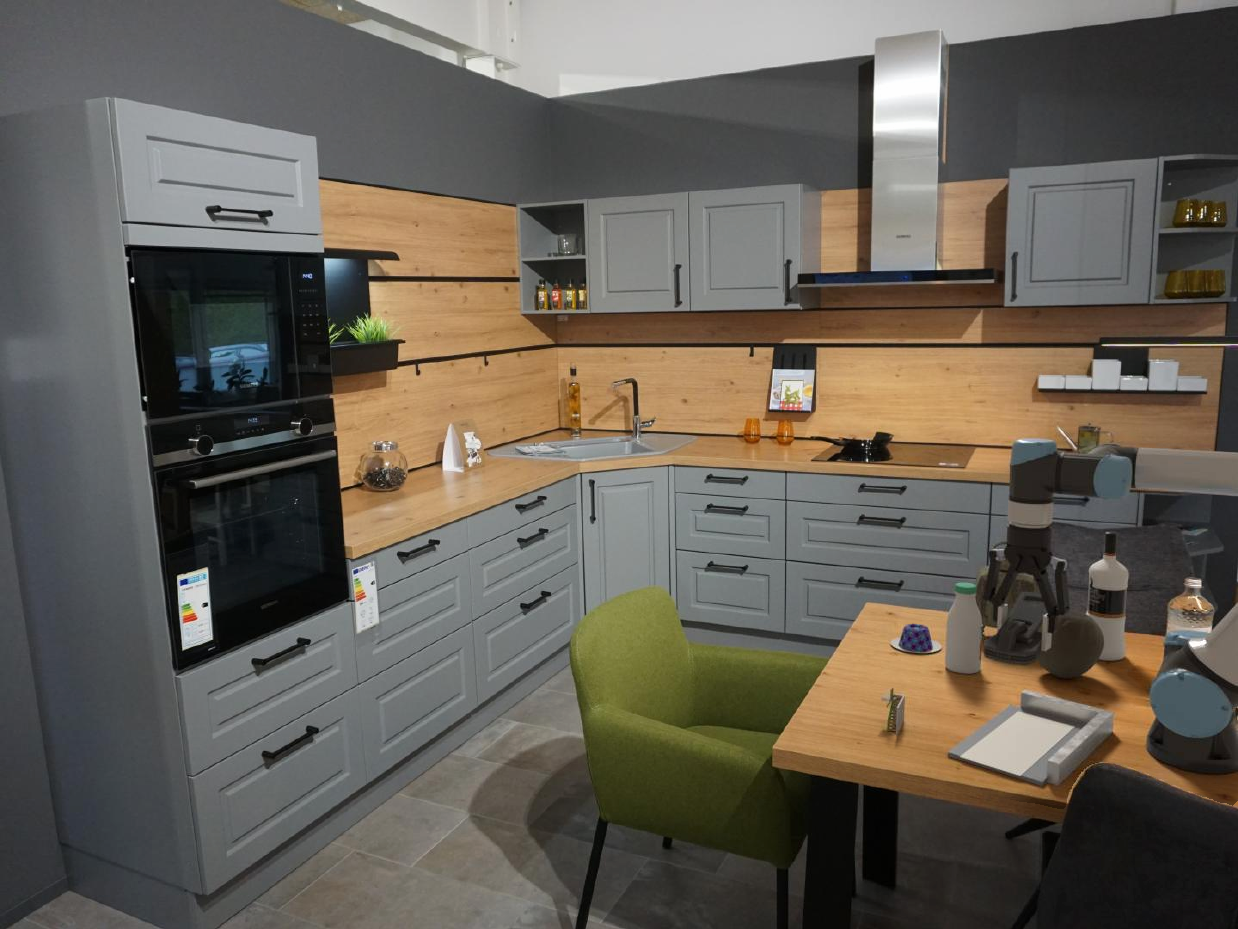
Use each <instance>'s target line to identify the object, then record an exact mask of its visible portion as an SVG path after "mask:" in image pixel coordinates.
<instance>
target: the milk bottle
mask: <svg viewBox="0 0 1238 929" xmlns="http://www.w3.org/2000/svg"><path fill="white" fill-rule="evenodd" d="M954 590H955V591H954V594H955V599H954V601H953V604H952V605H951V606H950V609H949V612H948V613H947V619H946V631H945V632H946V633H945V634H946V635H945V659H944V660H945V662H944V664H945V667H946V669H948V671H951V672H954V673H957V674H965V675H966V674H976V673H979V671H980V670H981V669H982V668H981V664H982V648H983V647H982V646H983V644H982V641H983V633H982V626H983V625H982V618H981V614H980V611H979V609H978V607H977V604H976V600H975V595H976V591H977V587H976V585H975V583H971V582H957V583H955V586H954Z"/></svg>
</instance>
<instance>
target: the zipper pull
mask: <svg viewBox="0 0 1238 929" xmlns="http://www.w3.org/2000/svg"><path fill="white" fill-rule="evenodd" d="M1054 597H1055V599H1056V602H1057V595H1054ZM1025 600H1028V601H1037V602H1039V604H1037V603H1031V602H1025ZM1045 614H1047V610H1046V608H1045V605H1044V602H1043V599H1042V596H1041V593H1040V592H1038V593H1033V592H1022V593H1021V595H1020V597H1019V598H1018V600H1017V602H1016V604H1015V606H1014V608H1013V610H1012V611H1011V613H1010V615H1009V617H1008V618H1007V620H1006V621H1005V623H1004V624H1003V625H1002V627H1001V628H1000V629H999V631H998V632H997V631H996V633H995V634H993V635H992V636H990V637H988V638H987V639H985V640H984V641H983V651H982V652H983V655H984V657H985V658H987V659H989V660H993V661H995V662H1000V663H1004V664H1010V665H1019V666H1028V665H1030V664H1035V663H1036V662H1037V658H1038V656H1039V655H1040V653H1041V651H1042V650H1041V645H1042V633H1040V632H1038V631H1037V630H1038V629H1039V627H1040V626H1041V625H1042V624H1043V616H1044V615H1045ZM1026 625H1028V626H1031V627H1030V628H1029V629H1026Z"/></svg>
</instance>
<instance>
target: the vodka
mask: <svg viewBox="0 0 1238 929" xmlns="http://www.w3.org/2000/svg"><path fill="white" fill-rule="evenodd" d="M1117 540H1118V533H1117V532H1115V531H1106V532H1104V542H1103V543H1104V545H1103V556H1102V559H1100V560H1098V561H1097V562H1094V563H1093V564H1091V565H1090V567H1089V569H1088V573H1089V575H1088V594H1087V609H1086V613H1085V614H1086V615H1089V616H1090V617H1091V618H1092V619H1093V620H1094V621H1095V622H1096V623H1097V624H1098V626H1099V627H1100V628H1101V630H1102V633H1103V636H1104V648H1103V651H1102V653H1101V656H1100V657H1099V659H1098V661H1103V662H1104V661H1106V662H1116V661H1120V660H1123V659H1124V658H1125V657H1126V655H1127V653H1126V652H1127V647H1126V643H1125V626H1126V625H1125V624H1126V623H1125V622H1126V619H1127V616H1126V607H1127V606H1126V605H1127V604H1126V603H1127V588H1128V586H1129V584H1128V583H1129V582H1128V581H1129V576H1130V575H1129V574H1130V573H1129V571H1128V569H1127V567H1126V566H1125V565H1123V564H1122V563H1120V562H1119V561H1118V560H1117V559H1116V557H1117Z"/></svg>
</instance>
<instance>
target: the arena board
mask: <svg viewBox="0 0 1238 929" xmlns="http://www.w3.org/2000/svg"><path fill="white" fill-rule="evenodd" d="M1084 726H1085V724H1081V723H1077V722H1074V721H1070V720H1066V719H1063V718H1059V717H1055V716H1051V715H1048V714H1044V713H1040V712H1036V711H1033V710H1029V709H1025V708H1021V706H1017V705H1013V704H1010V705H1008V706H1007V707H1006V708H1004V709H1002V711H1000V712H999V713H998V714H996V715H995V716H993V717H992V718H991V719H990V720H988V721H987V722H985V723H984V724H983V725H982V726H980V727H979V728H977V730H975V731H974V732H972V733H971V734H970V735H969V736H967V737H965V739H962V741H960V742H959V743H957V745H955V746H954V747H952V748H951V749H950V750H948V751H947V757H950V758H952V759H956V760H959V761H963V762H965V763H969V764H972V765H975V766H977V767H981V768H984V769H988V770H990V771H992V772H993V771H994V772H997V773H999V774H1003V775H1006V776H1009V777H1011V778H1012V777H1013V778H1015V779H1018V780H1021V781H1025V782H1027V783H1031V784H1034V785H1038V786H1040V787H1043V786H1044V785H1045V784H1046V783H1047V782H1046V778H1047V760H1049V759H1050V758H1051V757H1052V756H1053V755H1054V754H1055V753H1056V752H1057V751H1058V750H1059V749H1060V748H1062V747H1063V746H1064V745H1065V744H1066V743H1067V742H1068V741H1069V740H1070V739H1071V738H1072V737H1073V736H1075V735H1076V734H1077V733H1078V732H1079V731H1080V730H1081V729H1082V728H1083V727H1084Z"/></svg>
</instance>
